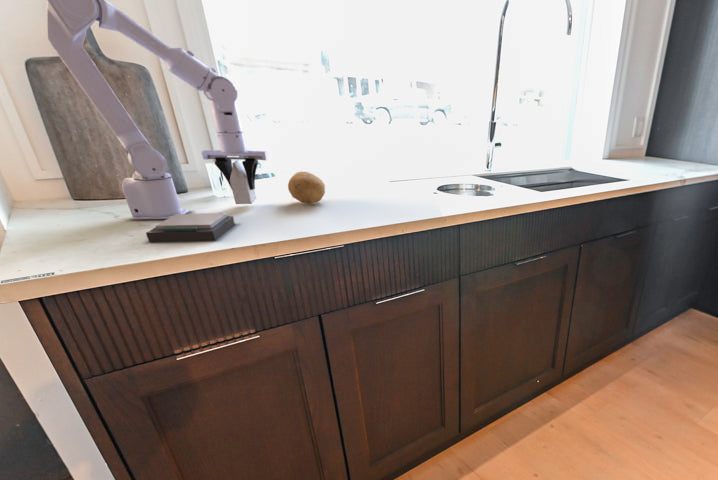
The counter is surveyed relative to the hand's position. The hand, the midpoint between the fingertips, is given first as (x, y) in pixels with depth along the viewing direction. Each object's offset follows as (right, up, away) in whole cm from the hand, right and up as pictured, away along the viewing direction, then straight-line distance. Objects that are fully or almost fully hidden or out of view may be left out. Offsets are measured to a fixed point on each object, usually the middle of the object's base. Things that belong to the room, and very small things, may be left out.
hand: (243, 189), depth 112 cm
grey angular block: (0, -3, +2) cm, 3 cm away
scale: (+1, -16, -20) cm, 26 cm away
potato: (+14, -1, +9) cm, 16 cm away
